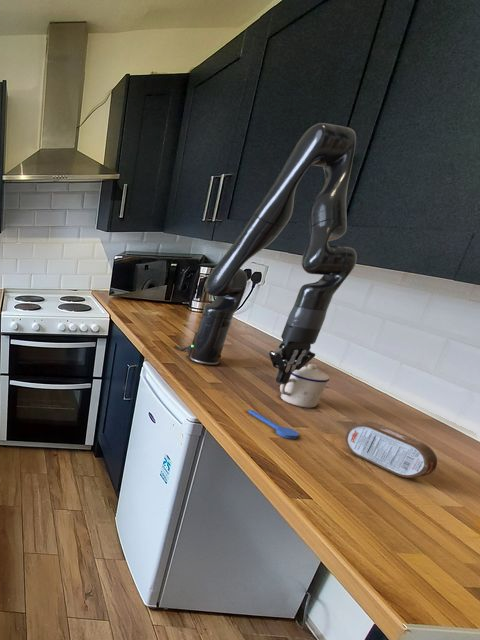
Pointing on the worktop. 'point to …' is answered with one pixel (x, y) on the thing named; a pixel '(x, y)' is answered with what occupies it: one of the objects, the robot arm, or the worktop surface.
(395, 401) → the worktop surface
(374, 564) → the worktop surface
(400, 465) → the tin
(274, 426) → the spoon
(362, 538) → the worktop surface
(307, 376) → the teacup with lid
